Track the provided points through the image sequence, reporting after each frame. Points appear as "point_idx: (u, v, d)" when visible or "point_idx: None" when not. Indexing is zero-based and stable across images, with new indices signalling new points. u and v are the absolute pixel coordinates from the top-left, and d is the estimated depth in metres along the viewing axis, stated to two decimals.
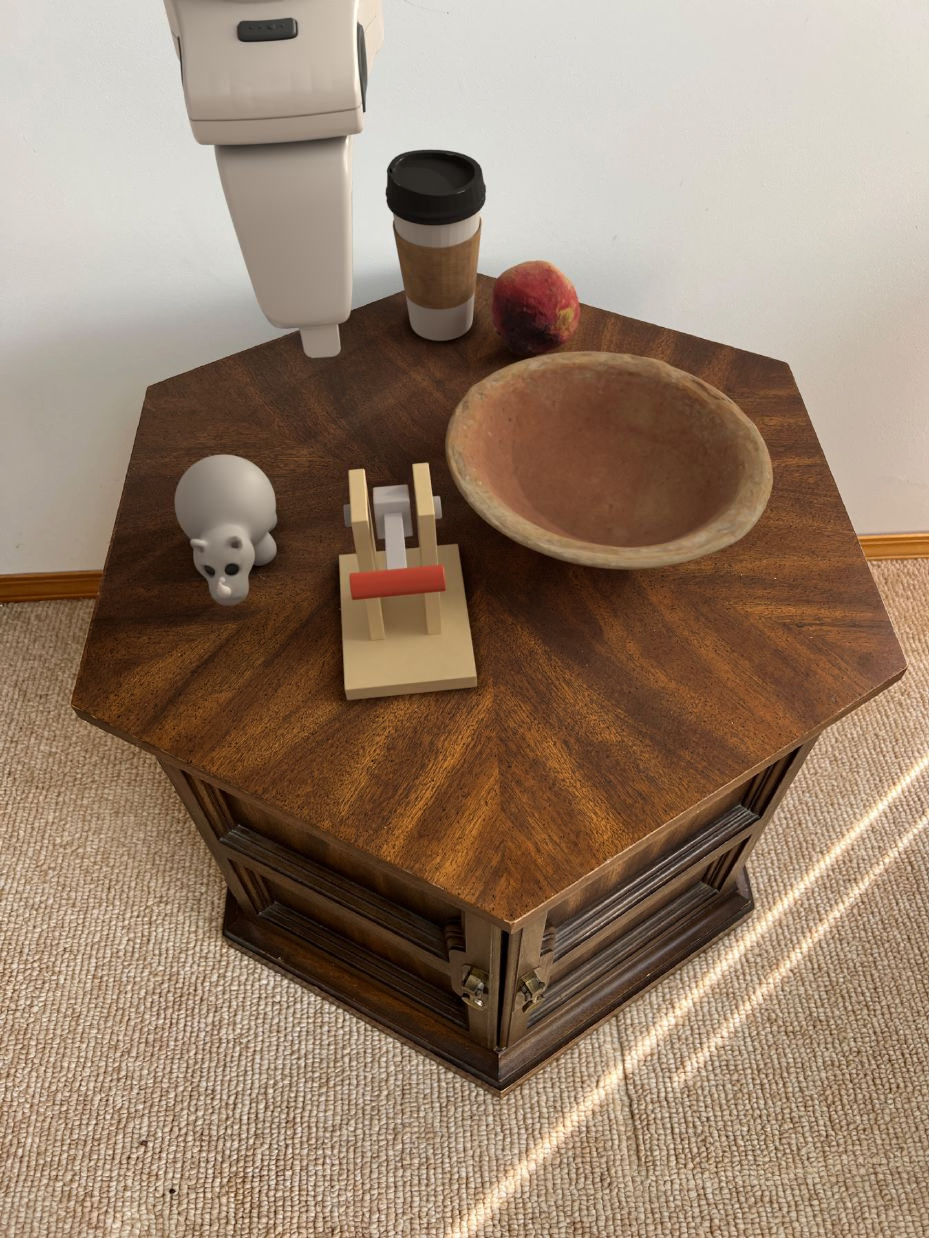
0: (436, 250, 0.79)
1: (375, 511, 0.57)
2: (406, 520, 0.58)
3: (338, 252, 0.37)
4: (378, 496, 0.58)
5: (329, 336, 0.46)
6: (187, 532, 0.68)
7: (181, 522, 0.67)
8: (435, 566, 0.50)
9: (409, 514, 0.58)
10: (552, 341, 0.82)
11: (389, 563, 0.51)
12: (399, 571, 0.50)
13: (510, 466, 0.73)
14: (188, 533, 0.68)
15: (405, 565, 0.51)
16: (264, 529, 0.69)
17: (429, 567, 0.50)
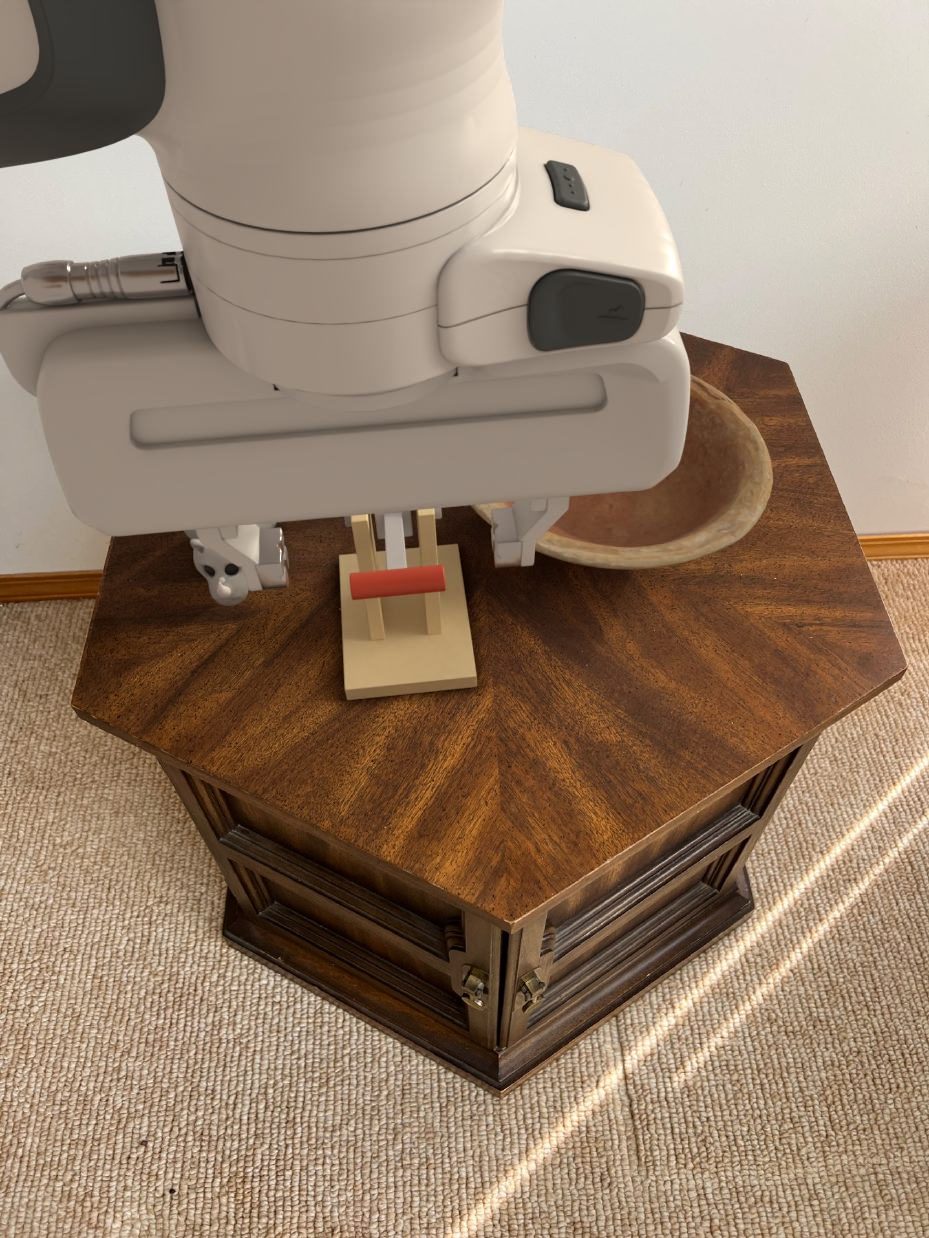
0: None
1: None
2: (406, 520, 0.58)
3: None
4: None
5: None
6: (187, 532, 0.68)
7: None
8: (435, 566, 0.50)
9: (409, 514, 0.58)
10: None
11: (389, 563, 0.51)
12: (399, 571, 0.50)
13: None
14: (188, 533, 0.68)
15: (405, 565, 0.51)
16: None
17: (429, 567, 0.50)
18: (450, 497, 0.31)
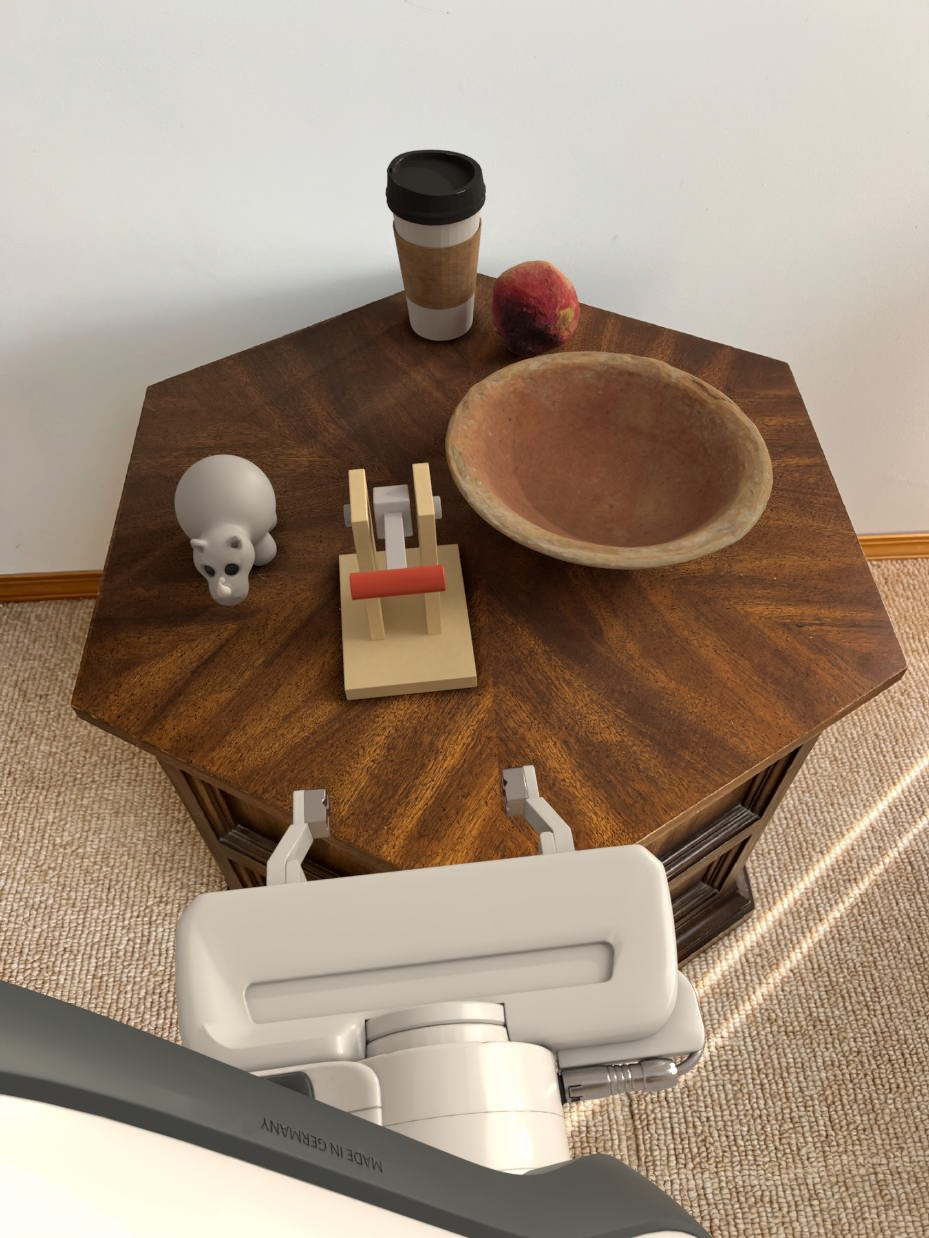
0: (436, 250, 0.79)
1: (375, 511, 0.57)
2: (406, 520, 0.58)
3: None
4: (378, 496, 0.58)
5: None
6: (187, 532, 0.68)
7: (181, 522, 0.67)
8: (435, 566, 0.50)
9: (409, 514, 0.58)
10: (552, 341, 0.82)
11: (389, 563, 0.51)
12: (399, 571, 0.50)
13: (510, 466, 0.73)
14: (188, 533, 0.68)
15: (405, 565, 0.51)
16: (264, 529, 0.69)
17: (429, 567, 0.50)
18: (367, 888, 0.38)
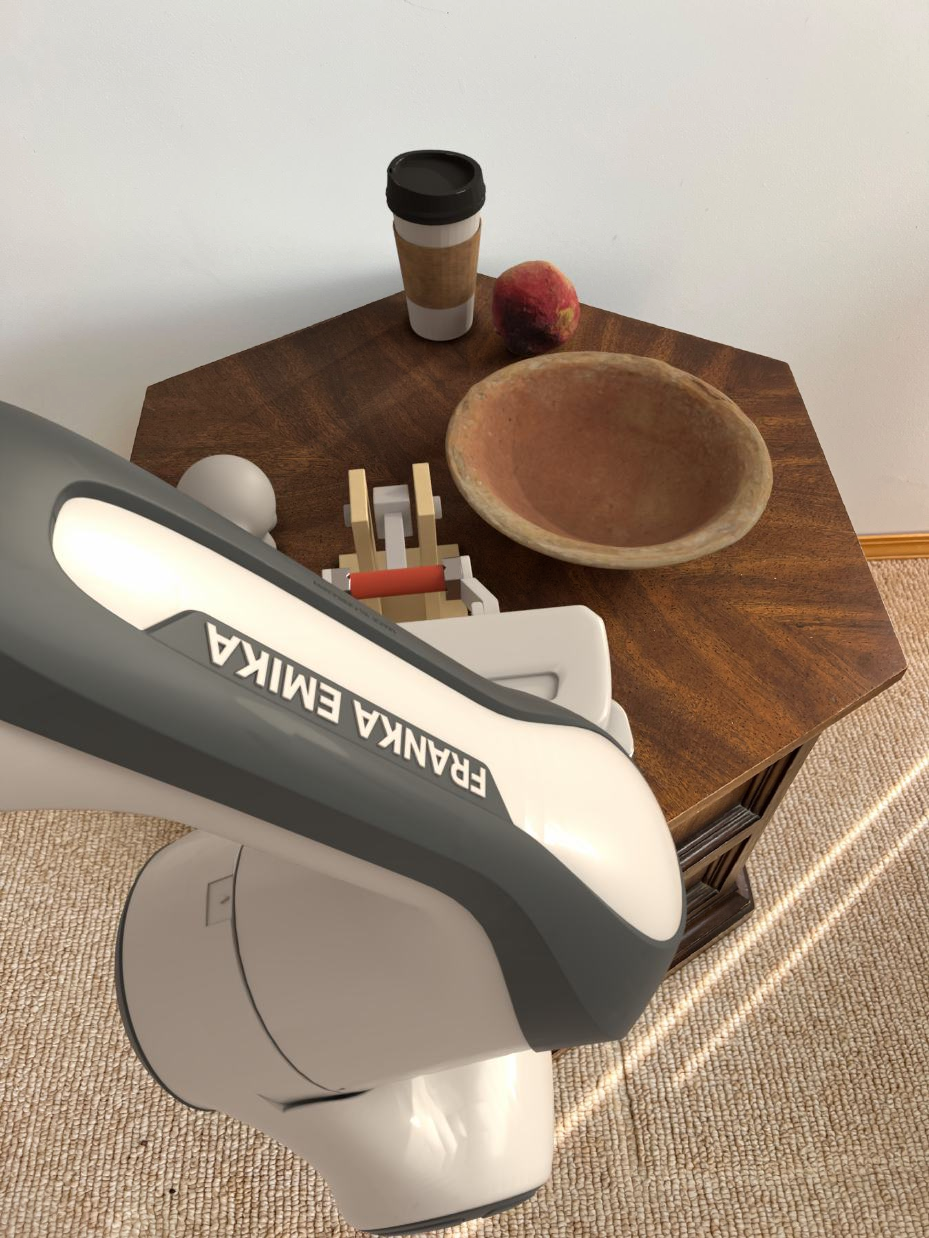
0: (436, 250, 0.79)
1: (375, 511, 0.57)
2: (406, 520, 0.58)
3: None
4: (378, 496, 0.58)
5: None
6: None
7: None
8: (435, 566, 0.50)
9: (409, 514, 0.58)
10: (552, 341, 0.82)
11: (389, 563, 0.51)
12: (399, 571, 0.50)
13: (510, 466, 0.73)
14: None
15: (405, 565, 0.51)
16: (264, 529, 0.69)
17: (429, 567, 0.50)
18: None
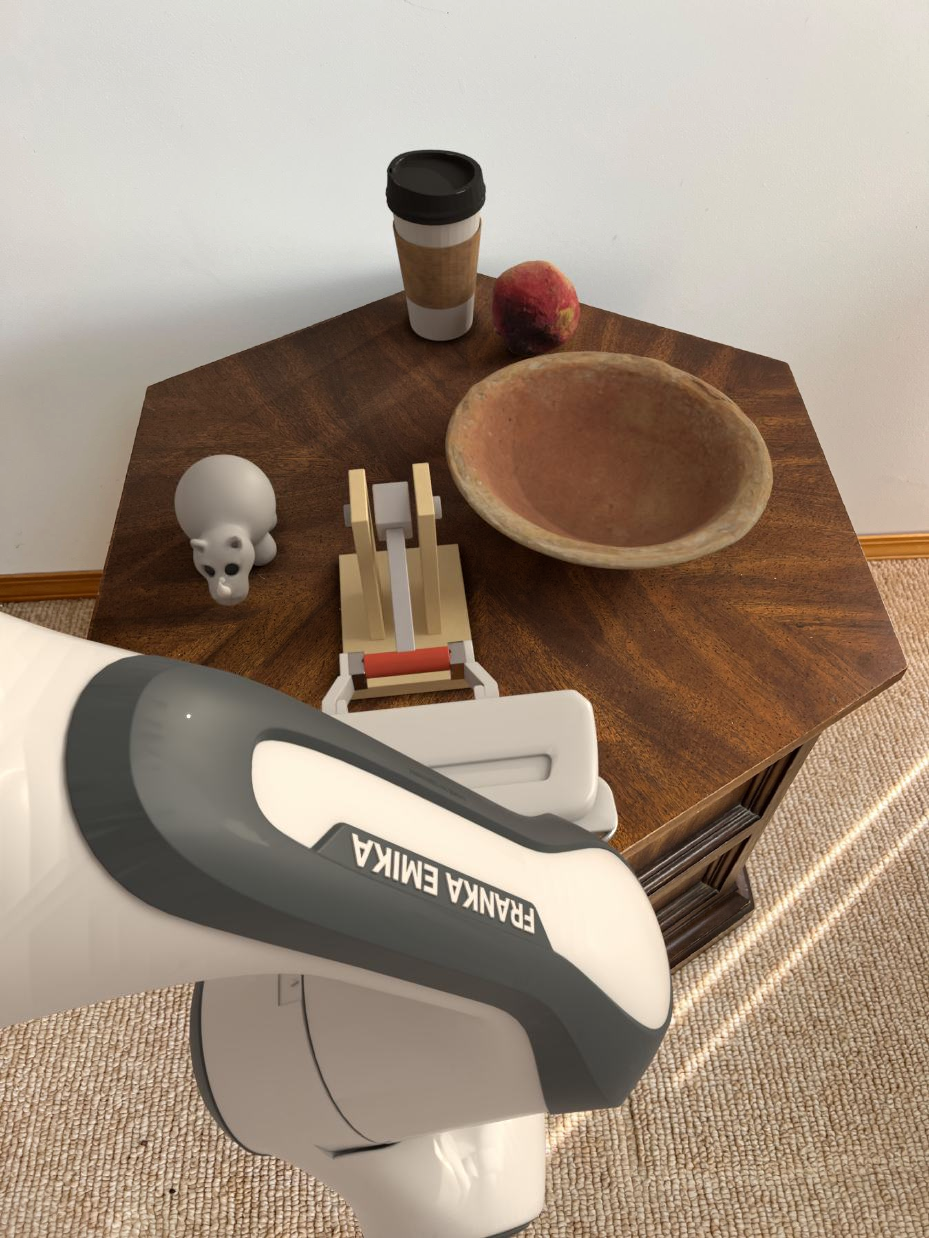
0: (436, 250, 0.79)
1: (377, 527, 0.58)
2: (407, 530, 0.58)
3: None
4: (379, 508, 0.58)
5: None
6: (187, 532, 0.68)
7: (181, 522, 0.67)
8: (442, 655, 0.55)
9: (410, 527, 0.58)
10: (552, 341, 0.82)
11: (398, 638, 0.55)
12: (409, 660, 0.55)
13: (510, 466, 0.73)
14: (188, 533, 0.68)
15: (413, 643, 0.55)
16: (264, 529, 0.69)
17: (436, 656, 0.55)
18: (369, 719, 0.52)
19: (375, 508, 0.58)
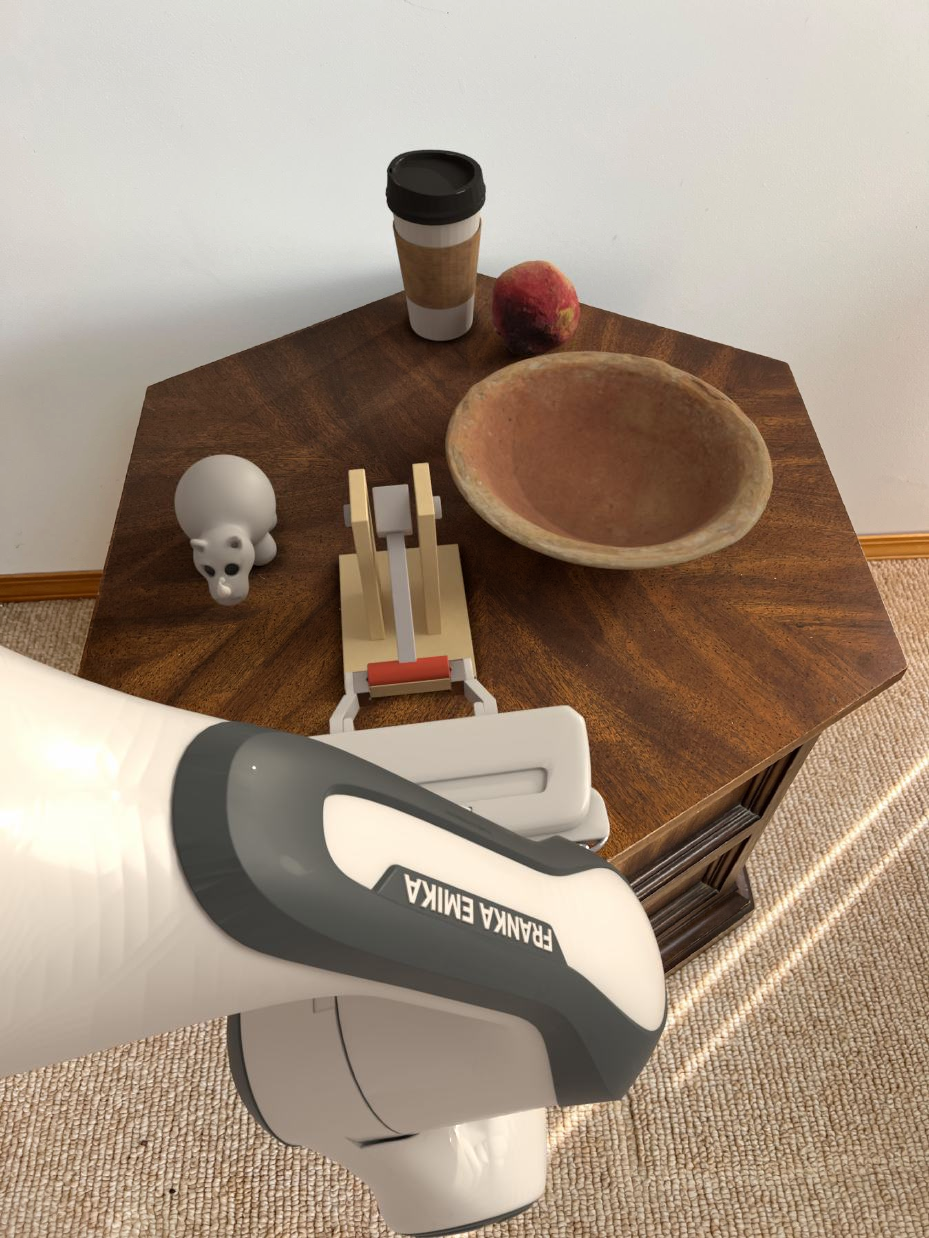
0: (436, 250, 0.79)
1: (378, 533, 0.58)
2: (407, 532, 0.59)
3: None
4: (380, 514, 0.58)
5: None
6: (187, 532, 0.68)
7: (181, 522, 0.67)
8: (442, 667, 0.58)
9: (411, 531, 0.59)
10: (552, 341, 0.82)
11: (400, 649, 0.58)
12: (411, 672, 0.58)
13: (510, 466, 0.73)
14: (188, 533, 0.68)
15: (414, 654, 0.58)
16: (264, 529, 0.69)
17: (436, 668, 0.58)
18: (376, 736, 0.55)
19: (376, 514, 0.58)
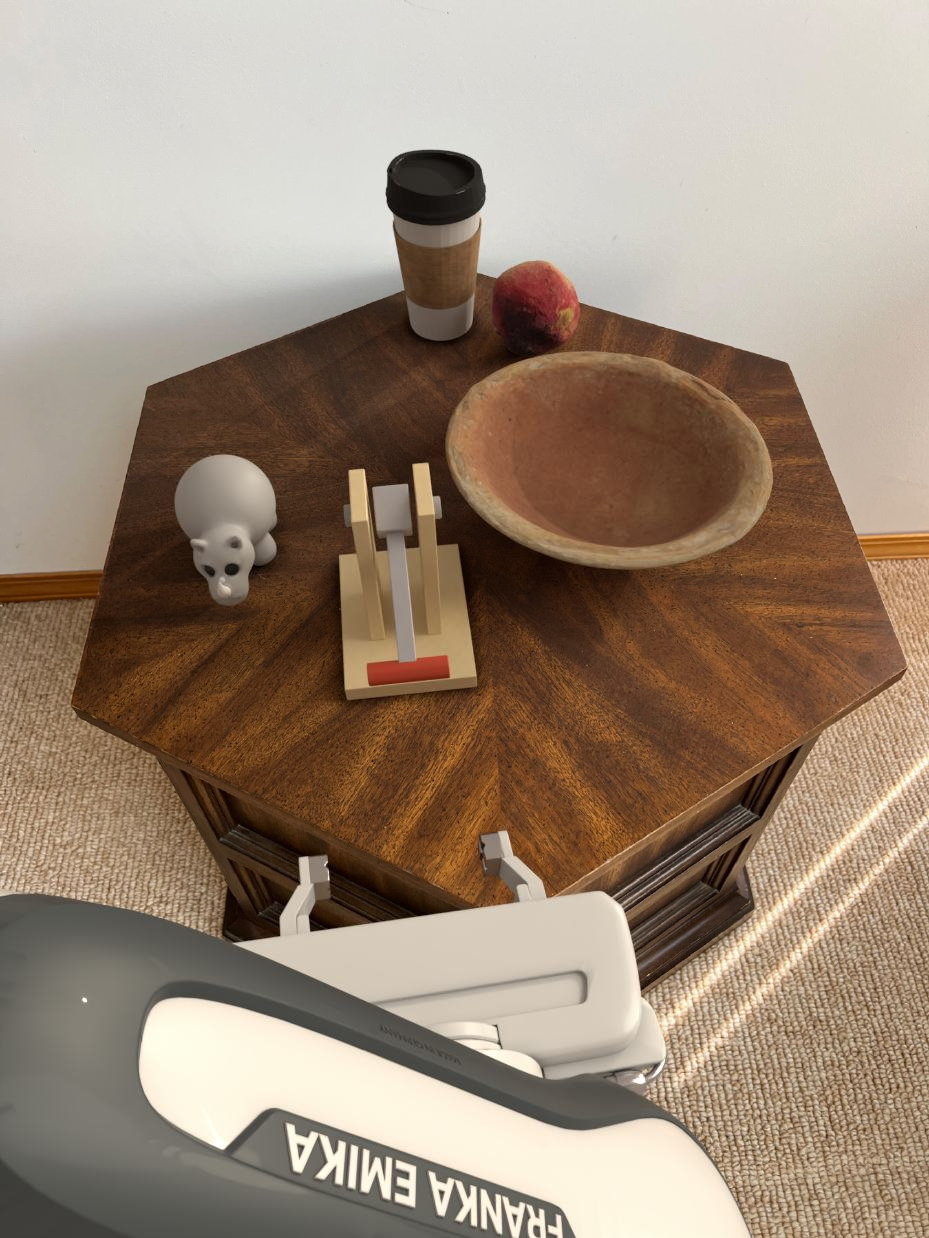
0: (436, 250, 0.79)
1: (377, 532, 0.58)
2: (407, 532, 0.59)
3: None
4: (379, 513, 0.58)
5: None
6: (187, 532, 0.68)
7: (181, 522, 0.67)
8: (442, 666, 0.57)
9: (411, 530, 0.59)
10: (552, 341, 0.82)
11: (400, 648, 0.58)
12: (411, 672, 0.57)
13: (510, 466, 0.73)
14: (188, 533, 0.68)
15: (414, 653, 0.58)
16: (264, 529, 0.69)
17: (437, 667, 0.57)
18: (372, 934, 0.44)
19: (376, 513, 0.58)
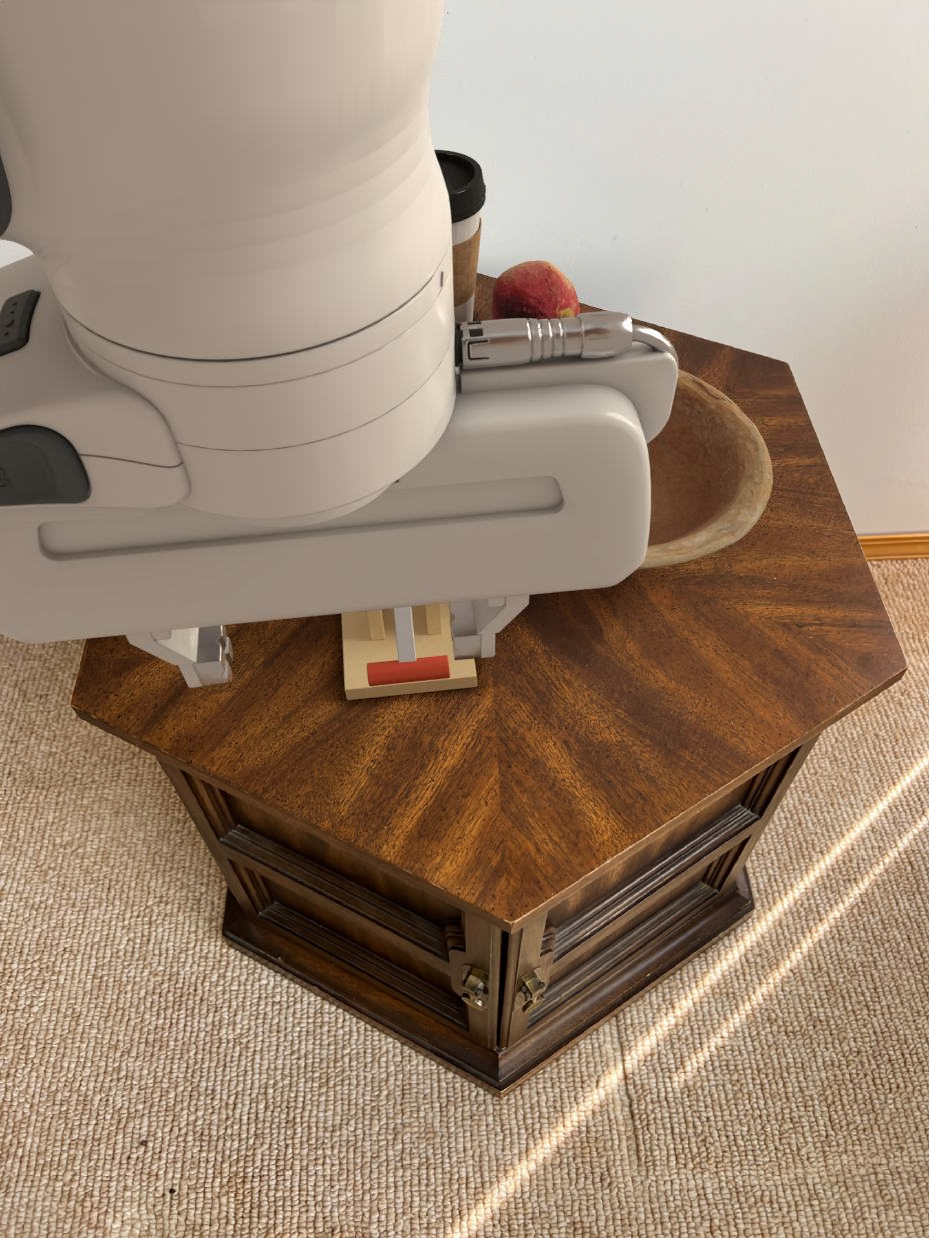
0: None
1: None
2: None
3: None
4: None
5: None
6: None
7: None
8: (442, 666, 0.57)
9: None
10: None
11: (400, 648, 0.58)
12: (411, 672, 0.57)
13: None
14: None
15: (414, 653, 0.58)
16: None
17: (437, 667, 0.57)
18: None
19: None
